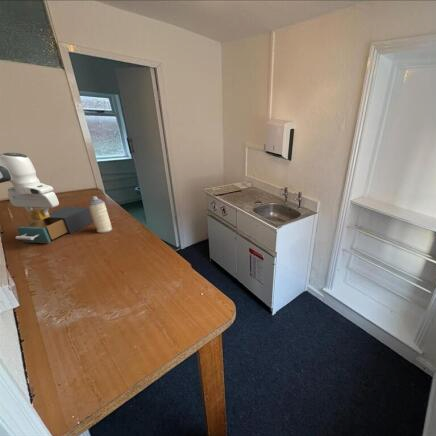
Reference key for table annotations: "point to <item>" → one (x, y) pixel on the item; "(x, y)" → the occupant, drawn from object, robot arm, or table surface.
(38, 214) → the block
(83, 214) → the cabinet
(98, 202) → the aerosol can
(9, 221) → the table surface
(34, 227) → the drawer
